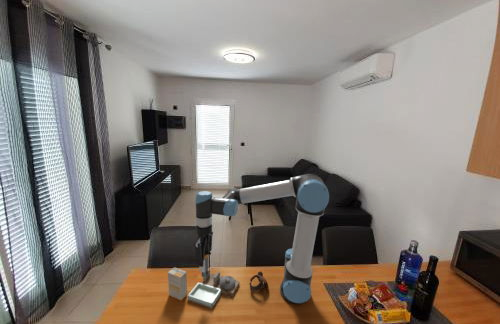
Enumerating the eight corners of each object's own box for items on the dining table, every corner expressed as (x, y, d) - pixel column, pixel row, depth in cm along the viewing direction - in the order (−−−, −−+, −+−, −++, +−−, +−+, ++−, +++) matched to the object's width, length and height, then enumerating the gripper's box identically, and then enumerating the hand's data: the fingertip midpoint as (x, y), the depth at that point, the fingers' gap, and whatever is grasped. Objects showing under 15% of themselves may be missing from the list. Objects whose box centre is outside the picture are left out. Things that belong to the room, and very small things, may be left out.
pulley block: (239, 284, 116) (239, 274, 115) (232, 296, 107) (232, 286, 106) (209, 275, 121) (209, 266, 120) (201, 286, 113) (201, 276, 112)
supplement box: (187, 294, 108) (187, 271, 105) (181, 301, 103) (180, 277, 101) (175, 289, 111) (174, 266, 109) (168, 295, 107) (167, 272, 104)
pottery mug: (270, 296, 108) (263, 286, 106) (253, 300, 111) (246, 291, 108) (269, 275, 119) (263, 265, 117) (254, 279, 122) (248, 270, 119)
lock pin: (209, 272, 106) (209, 252, 105) (207, 277, 103) (207, 257, 101) (201, 272, 106) (201, 252, 105) (200, 277, 103) (199, 257, 101)
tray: (221, 293, 109) (221, 289, 108) (212, 308, 100) (212, 303, 100) (198, 286, 113) (198, 282, 113) (187, 299, 104) (187, 295, 104)
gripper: (205, 216, 109) (206, 257, 113) (187, 230, 94) (187, 277, 98) (219, 218, 106) (218, 261, 110) (201, 233, 92) (202, 282, 95)
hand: (204, 268), depth 104 cm, fingers closed on lock pin, 3 cm apart
